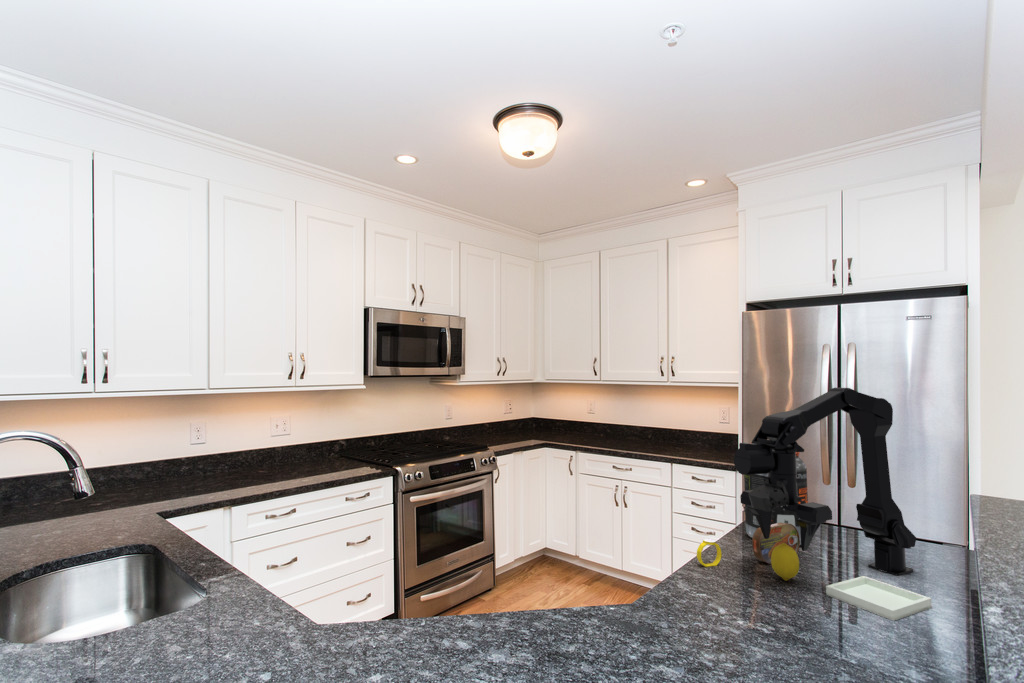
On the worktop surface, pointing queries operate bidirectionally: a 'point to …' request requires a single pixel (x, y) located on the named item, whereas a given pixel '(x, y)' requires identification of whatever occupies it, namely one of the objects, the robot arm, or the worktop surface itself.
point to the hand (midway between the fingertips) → (784, 544)
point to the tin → (774, 540)
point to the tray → (879, 597)
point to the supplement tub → (778, 513)
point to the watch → (700, 548)
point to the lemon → (785, 561)
